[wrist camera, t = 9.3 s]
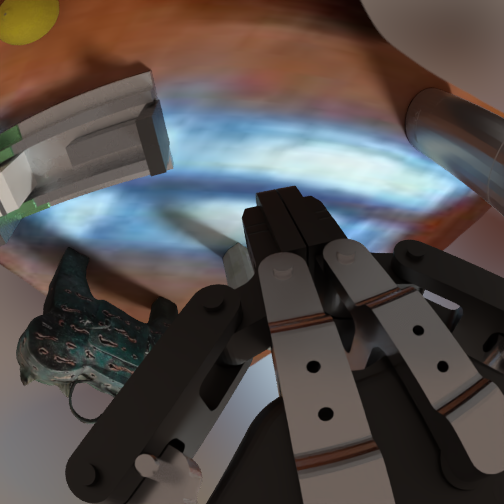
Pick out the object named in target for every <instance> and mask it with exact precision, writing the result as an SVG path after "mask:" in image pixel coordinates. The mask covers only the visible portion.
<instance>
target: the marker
mask: <svg viewBox="0 0 504 504" xmlns="http://www.w3.org/2000/svg"><path fill="white" fill-rule="evenodd" d="M36 185H37V182H36V180H35V178H34V175H33V173H32V170H31V168H30V166H29V163H28V161H27V158H26V155H25V153H24V152H22V153H20V154H18V155H16V156H14V157H12V158H10V159H8V160H6V161H4V162H3V163H1V164H0V217H1V216H5V215H7V214H8V213H10V212H12V211H14V210H17V209H19V208H20V206H21V205H22V203H23V202H24V201H25V199H26V198H27V197H28V195H29V194H30V193H31V192H32V190H33V189H34V188H35V186H36Z"/></svg>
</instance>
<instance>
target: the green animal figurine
mask: <svg viewBox="0 0 504 504" xmlns="http://www.w3.org/2000/svg"><path fill="white" fill-rule="evenodd" d="M88 262H89V258H88V257H86V256H84V255H81V254H79V253H77V252H76V251H74V250H73V249H71V248H70V247H68V248H67V250H66V252H65V254H64V256H63V257H62V259H61V261H60V263H59V265H58V268H57V270H56V272H55V275H54V277H53V279H52V281H51V283H50V285H49V291H48V294H47V297H46V300H45V303H44V308H43V310H44V311H43V315H40V316H38V317H36V318H34V319H33V320H32V321H31V322H30V324H29V325H28V327H27V329H26V330H25V332H24V333H23V334H22V335H21V337H20V338H19V342H18V345H17V350H16V356H17V360H18V363H19V365H20V377H21V381H22V383H23V385H24V386H25V385H28V384H29V383H31V382H32V381H34V380H36V381H38V382H41V383H44V384H47V385H57V386H58V387H59V388H60V390H61V391H62V393H63V394H64V395H65V396H66V397H67V398H68V397H69V405H70V409H71V411H72V413H73V414H74V415H75V417H76V418H77V419H79V420H80V421H81V422H83V423H87V424H93V423H96V422H97V420H98V419H99V418H100V416H101V415H102V414H101V415H100V416H99V417H97V418H95V419H91V420H90V419H85V418H83V417H81V416H80V415H78V414H77V413H76V412H75V410H74V409H73V407H72V402H71V397H72V392H73V390H74V387H75V385H76V384H77V383H88V384H89V385H91V386H92V387H94V388H95V389H97V390H99V391H101V392H103V393H107V394H110V395H111V396H113V397H114V398H115V396H116V395H117V394H118V392H119V391H120V390H121V388H122V387H123V386H124V384H125V383H126V382H127V380H128V379H129V378H130V377H131V375H132V374H133V373H134V371H135V370H136V369H137V367H138V366H139V365H140V363H141V362H142V361H143V360H144V358H145V357H146V356H147V354H148V353H149V352H150V350H151V349H152V348H153V347H154V345H155V344H156V343H157V341H158V340H159V339H160V338H161V336H162V335H163V334H164V332H165V331H166V330H167V329H168V327H169V326H170V325H171V323H172V322H173V321H174V320H175V318H176V317H177V316H178V310H177V306H176V304H174V303H173V302H171V301H170V300H167V299H165V298H162V297H159V298H158V299H157V300H156V301H155V302H154V303H153V304H152V307H151V313H150V317H149V321H148V323H143V322H140V321H138V320H136V319H134V318H133V317H131V316H129V315H128V314H126V313H125V312H124V311H122V310H120V309H119V308H117V307H115V306H114V305H112V304H110V303H109V302H107V301H105V300H97V299H95V298H94V297H93V295H92V294H91V292H90V289H89V286H88V283H87V279H86V268H87V265H88ZM78 379H80V380H78ZM71 384H72V385H71Z"/></svg>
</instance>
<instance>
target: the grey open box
mask: <svg viewBox="0 0 504 504" xmlns="http://www.w3.org/2000/svg"><path fill="white" fill-rule="evenodd" d="M155 100H158V97H157V93H156V88H155V84H154V79H153V75H152V70H151V71H148V72H144V73H141V74H137V75H134V76H131V77H127V78H124V79H121V80H118V81H115V82H112V83H109V84H106V85H104V86H101V87H98V88H95V89H93V90H90V91H87V92H85V93H82V94H80V95H77V96H75V97H73V98H70V99H68V100H65V101H63V102H61V103H59V104H56V105H54V106H52V107H50V108H48V109H46V110H44V111H41V112H39V113H37V114H35V115H33V116H31V117H29V118H28V119H26V120H24V121H22V122H20V123H18V124H16V125H14V126H13V127H11V128H9V129H7V130H6V131H4V132H2V133H0V164H1V163H3V162H4V161H6V160H8V159H10V158H12V157H14V156H16V155H18V154H20V153H22V152H24V153H25V155H26V158H27V161H28V163H29V166H30V168H31V170H32V173H33V175H34V178H35V180H36V182H37V185H36V186H35V188H34V189H33V190H32V192H31V193H30V194H29V195H28V197H27V198H26V199H25V201H24V202H23V203H22V205H21V206H20V208H19V209H17V210H14V211H12V212H10V213H8V214H7V215H5V216H1V217H0V246H1V245H4V244H6V243H7V241H8V240H9V238H10V236H11V235H12V233H13V231H14V230H15V228H16V227H17V225H18V224H19V222H20V221H21V219H22V218H24V217H26V216H29V215H31V214H34V213H36V212H39V211H42V210H44V209H47V208H50V206H53V205H56V204H58V203H61V202H64V201H67V200H70V199H73V198H75V197H78V196H81V195H84V194H87V193H90V192H93V191H97V190H100V189H103V188H106V187H109V186H112V185H116V184H119V183H122V182H126V181H129V180H133V179H136V178H140V177H143V176H147V175H150V172H149V169H148V165H147V162H146V159H145V155H144V152H143V148H142V145H141V144H140V145H136V146H133V147H130V148H126V149H123V150H120V151H117V152H114V153H111V154H107V155H104V156H101V157H98V158H96V159H93V160H90V161H87V162H84V163H81V164H79V165H76V166H73V167H72V164H71V162H70V159H69V157H68V154H67V151H66V147H67V146H68V144H69V143H70V142H71V141H73V140H75V139H78V138H81V137H83V136H86V135H89V134H91V133H94V132H97V131H100V130H103V129H106V128H108V127H111V126H114V125H118V124H121V123H124V122H127V121H130V120H134V119H137V117H138V115H139V114H140V112H141V111H142V109H143V107H144V106H145V104H146V103H149V102H153V101H155ZM173 165H174V163H173V159H172V155H171V151H170V147H169V153H168V162H167V170H170V169H173Z"/></svg>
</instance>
